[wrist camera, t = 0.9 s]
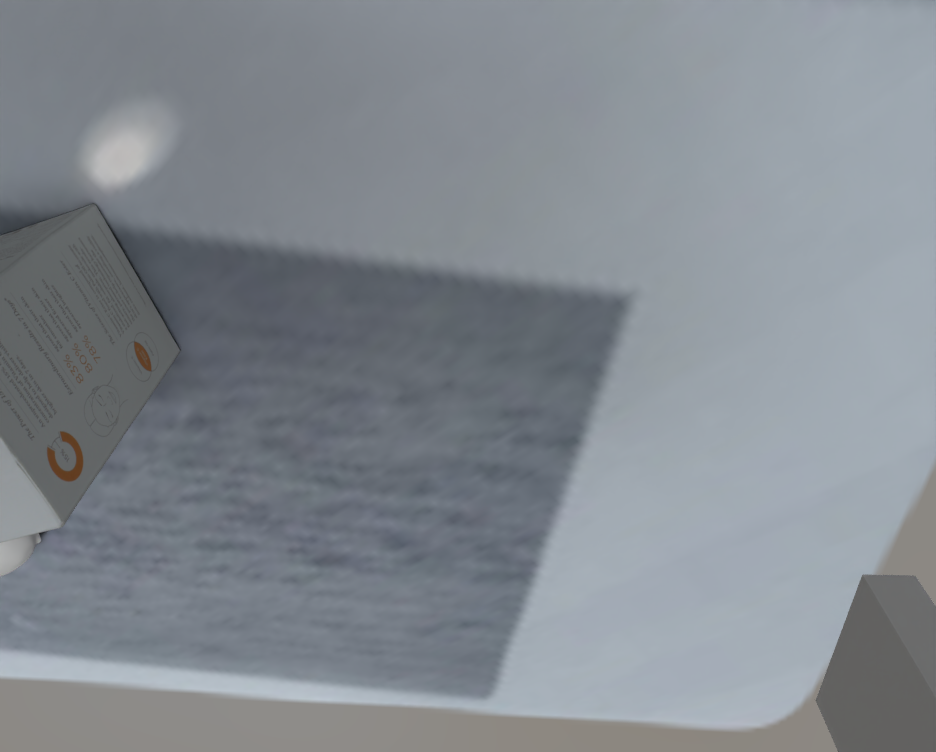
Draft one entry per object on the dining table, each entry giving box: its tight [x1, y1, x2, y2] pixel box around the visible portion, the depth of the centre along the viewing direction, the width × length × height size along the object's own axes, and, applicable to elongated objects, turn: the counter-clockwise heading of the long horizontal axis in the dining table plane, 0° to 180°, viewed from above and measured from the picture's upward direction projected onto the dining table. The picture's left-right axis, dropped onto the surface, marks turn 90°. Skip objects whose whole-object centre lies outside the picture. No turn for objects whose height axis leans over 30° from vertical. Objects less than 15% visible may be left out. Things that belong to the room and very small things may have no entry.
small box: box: [0, 204, 180, 543], centre depth 32 cm, size 8×6×13 cm
